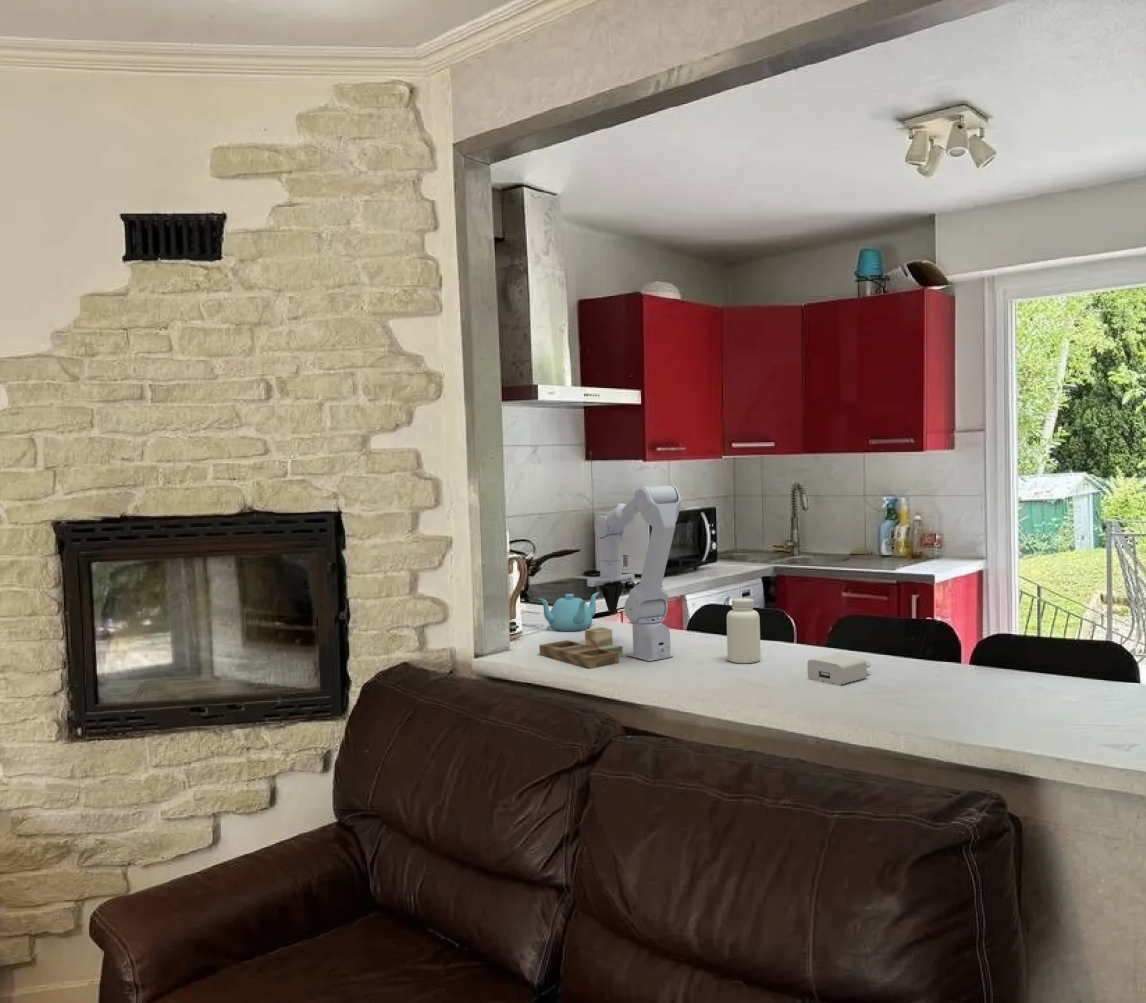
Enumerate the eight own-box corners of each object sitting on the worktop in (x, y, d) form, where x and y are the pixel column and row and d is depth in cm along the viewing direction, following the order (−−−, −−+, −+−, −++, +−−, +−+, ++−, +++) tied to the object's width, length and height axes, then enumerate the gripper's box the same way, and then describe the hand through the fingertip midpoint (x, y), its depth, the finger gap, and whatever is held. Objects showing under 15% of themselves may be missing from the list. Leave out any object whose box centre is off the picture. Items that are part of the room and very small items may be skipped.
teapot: (557, 623, 292) (556, 590, 291) (603, 624, 286) (602, 590, 286) (539, 632, 278) (537, 597, 278) (586, 633, 273) (585, 598, 272)
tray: (636, 659, 236) (635, 649, 236) (589, 668, 228) (588, 658, 228) (584, 646, 254) (584, 637, 254) (539, 654, 246) (539, 645, 246)
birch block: (612, 645, 243) (611, 629, 243) (596, 647, 240) (596, 632, 240) (600, 642, 247) (600, 627, 247) (585, 644, 244) (584, 629, 244)
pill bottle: (759, 656, 235) (757, 596, 234) (762, 664, 227) (760, 601, 226) (726, 657, 236) (725, 597, 235) (728, 664, 228) (727, 602, 227)
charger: (883, 675, 213) (841, 687, 204) (849, 668, 220) (807, 679, 211) (883, 654, 213) (841, 665, 204) (849, 648, 220) (807, 658, 211)
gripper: (622, 556, 261) (624, 605, 262) (579, 561, 253) (581, 612, 254) (638, 558, 255) (640, 608, 256) (595, 563, 247) (597, 615, 248)
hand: (612, 610), depth 254 cm, fingers closed
